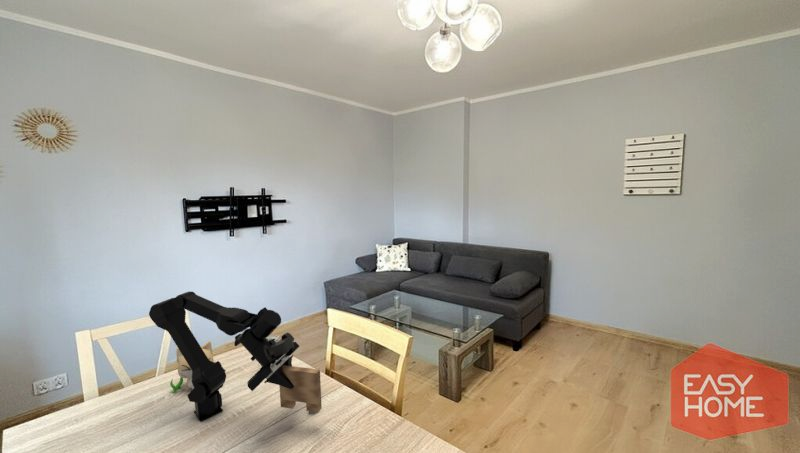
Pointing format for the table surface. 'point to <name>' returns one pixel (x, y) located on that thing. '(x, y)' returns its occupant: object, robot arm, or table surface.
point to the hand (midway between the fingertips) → (294, 385)
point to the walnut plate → (302, 388)
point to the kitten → (185, 369)
